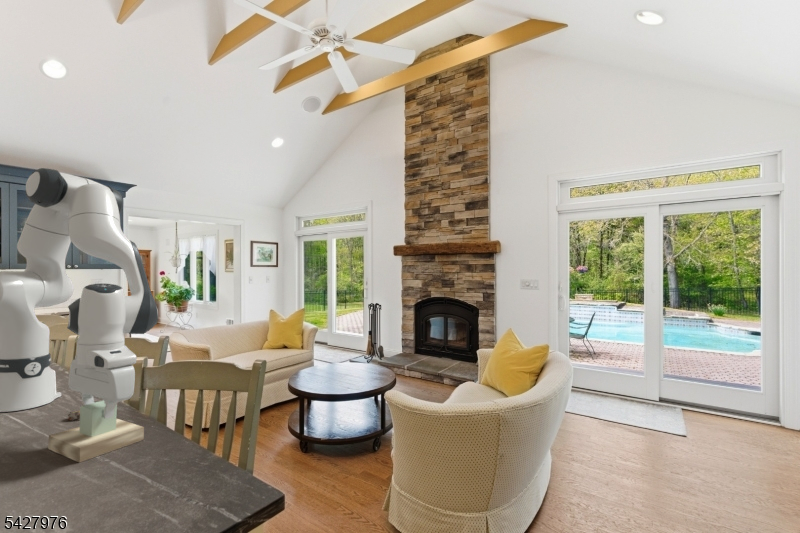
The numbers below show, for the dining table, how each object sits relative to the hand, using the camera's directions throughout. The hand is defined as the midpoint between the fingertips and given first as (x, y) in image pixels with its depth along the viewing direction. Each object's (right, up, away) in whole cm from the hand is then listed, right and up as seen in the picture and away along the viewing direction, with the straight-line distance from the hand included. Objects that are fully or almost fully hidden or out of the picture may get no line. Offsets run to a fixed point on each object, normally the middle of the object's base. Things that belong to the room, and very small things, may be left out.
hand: (98, 414), depth 91 cm
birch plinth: (0, -7, 0) cm, 7 cm away
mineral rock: (-15, -7, +17) cm, 24 cm away
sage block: (0, -4, 0) cm, 4 cm away
